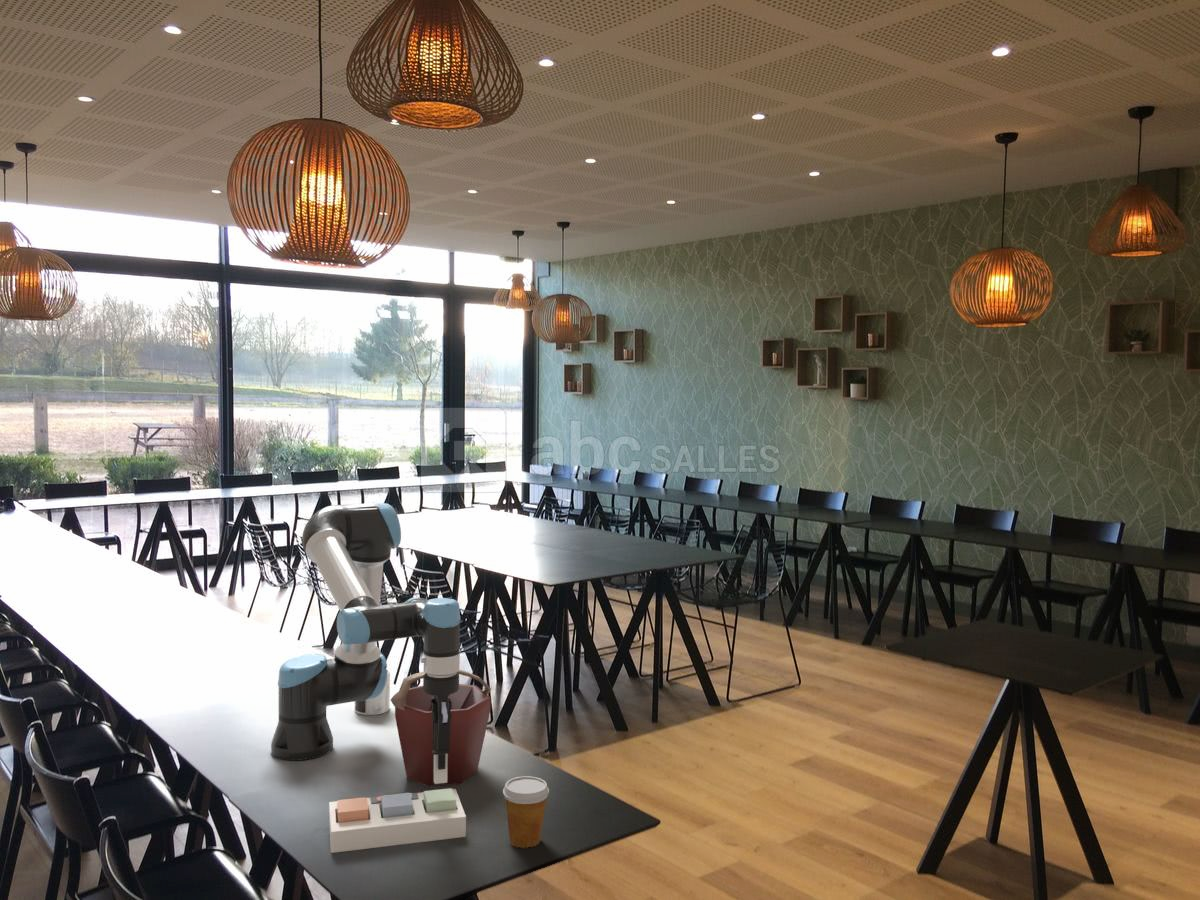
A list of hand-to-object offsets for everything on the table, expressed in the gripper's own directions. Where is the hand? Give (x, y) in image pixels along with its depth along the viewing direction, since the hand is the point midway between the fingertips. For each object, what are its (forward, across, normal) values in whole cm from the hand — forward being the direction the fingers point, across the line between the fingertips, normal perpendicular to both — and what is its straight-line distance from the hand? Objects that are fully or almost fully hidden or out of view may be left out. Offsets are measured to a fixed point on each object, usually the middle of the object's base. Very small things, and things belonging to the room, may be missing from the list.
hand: (440, 781), depth 200 cm
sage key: (+6, 0, 0) cm, 6 cm away
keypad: (+9, 0, -9) cm, 13 cm away
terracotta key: (+6, 0, -18) cm, 19 cm away
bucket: (+9, -28, +4) cm, 30 cm away
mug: (+9, -75, -9) cm, 76 cm away
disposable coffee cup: (+10, +12, +16) cm, 22 cm away
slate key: (+6, 0, -9) cm, 11 cm away
